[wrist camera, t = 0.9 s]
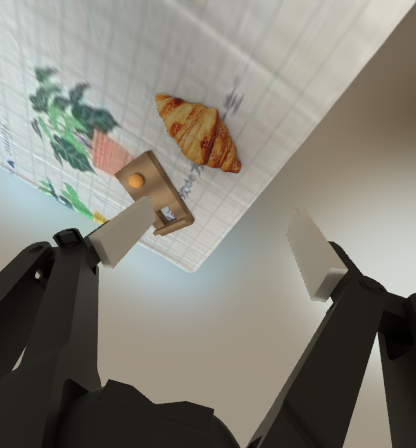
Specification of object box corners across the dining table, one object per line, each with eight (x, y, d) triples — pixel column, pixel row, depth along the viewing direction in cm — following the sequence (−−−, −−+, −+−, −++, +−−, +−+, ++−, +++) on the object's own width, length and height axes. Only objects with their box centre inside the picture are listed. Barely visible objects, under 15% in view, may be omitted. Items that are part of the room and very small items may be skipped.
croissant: (161, 113, 36) (137, 129, 32) (171, 59, 27) (140, 72, 23) (233, 174, 39) (220, 195, 35) (262, 143, 30) (249, 166, 26)
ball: (131, 176, 38) (122, 179, 36) (140, 170, 37) (132, 173, 34) (139, 187, 40) (131, 192, 37) (148, 182, 38) (141, 186, 36)
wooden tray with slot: (120, 171, 41) (108, 176, 37) (151, 150, 37) (140, 153, 33) (165, 231, 49) (158, 240, 45) (194, 219, 44) (190, 228, 41)
